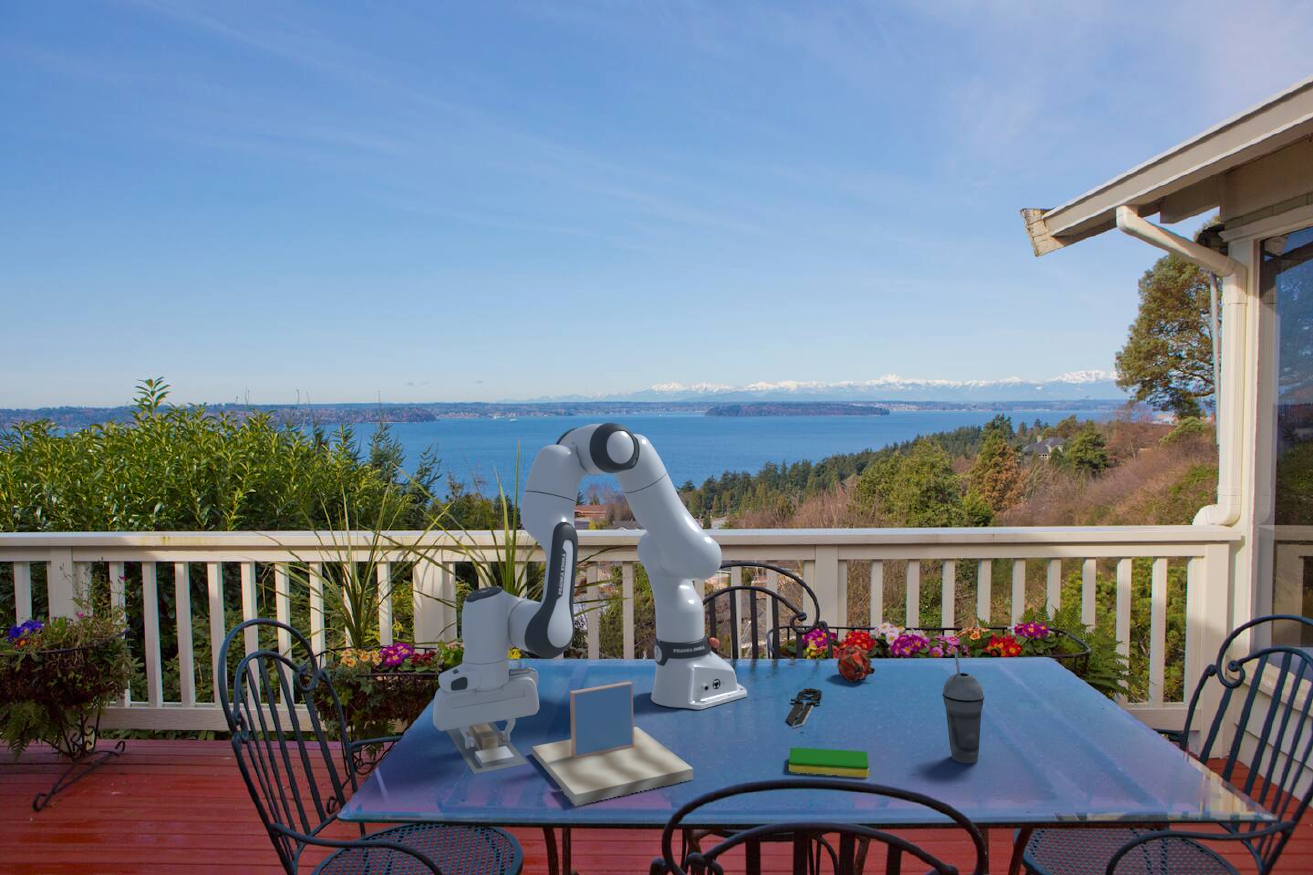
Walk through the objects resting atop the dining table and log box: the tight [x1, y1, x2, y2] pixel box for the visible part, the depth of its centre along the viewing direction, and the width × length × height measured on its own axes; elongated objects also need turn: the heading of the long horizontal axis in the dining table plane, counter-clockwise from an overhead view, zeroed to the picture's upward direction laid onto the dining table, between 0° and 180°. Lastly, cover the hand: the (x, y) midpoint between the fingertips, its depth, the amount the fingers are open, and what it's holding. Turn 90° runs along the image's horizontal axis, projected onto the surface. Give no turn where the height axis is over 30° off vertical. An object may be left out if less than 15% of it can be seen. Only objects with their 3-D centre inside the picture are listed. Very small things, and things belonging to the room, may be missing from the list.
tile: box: [569, 681, 635, 759], centre depth 152 cm, size 12×2×12 cm, turn 116°
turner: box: [466, 723, 515, 768], centre depth 159 cm, size 6×20×3 cm, turn 26°
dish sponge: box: [788, 747, 870, 778], centre depth 147 cm, size 7×14×2 cm, turn 78°
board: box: [531, 726, 694, 805], centre depth 149 cm, size 22×24×2 cm
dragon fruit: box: [836, 645, 876, 683], centre depth 200 cm, size 8×8×12 cm
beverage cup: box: [942, 648, 985, 764], centre depth 150 cm, size 7×7×20 cm
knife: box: [785, 687, 823, 729], centre depth 179 cm, size 25×6×1 cm, turn 154°
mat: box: [445, 722, 529, 775], centre depth 160 cm, size 10×26×1 cm, turn 26°
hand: (487, 744), depth 158 cm, fingers open, 5 cm apart
